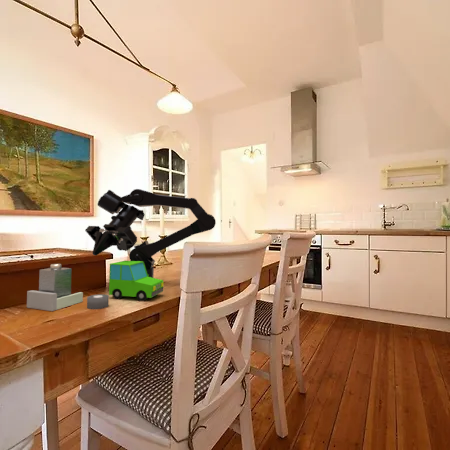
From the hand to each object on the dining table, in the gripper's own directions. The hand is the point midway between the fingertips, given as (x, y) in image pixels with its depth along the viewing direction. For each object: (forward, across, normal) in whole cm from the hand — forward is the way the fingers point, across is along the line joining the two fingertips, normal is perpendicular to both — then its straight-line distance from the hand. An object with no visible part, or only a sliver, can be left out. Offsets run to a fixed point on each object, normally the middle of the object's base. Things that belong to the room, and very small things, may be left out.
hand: (94, 254), depth 84 cm
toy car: (+6, -14, -11) cm, 19 cm away
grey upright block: (+18, -3, +1) cm, 18 cm away
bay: (+17, -3, 0) cm, 17 cm away
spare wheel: (+14, -13, -2) cm, 19 cm away
